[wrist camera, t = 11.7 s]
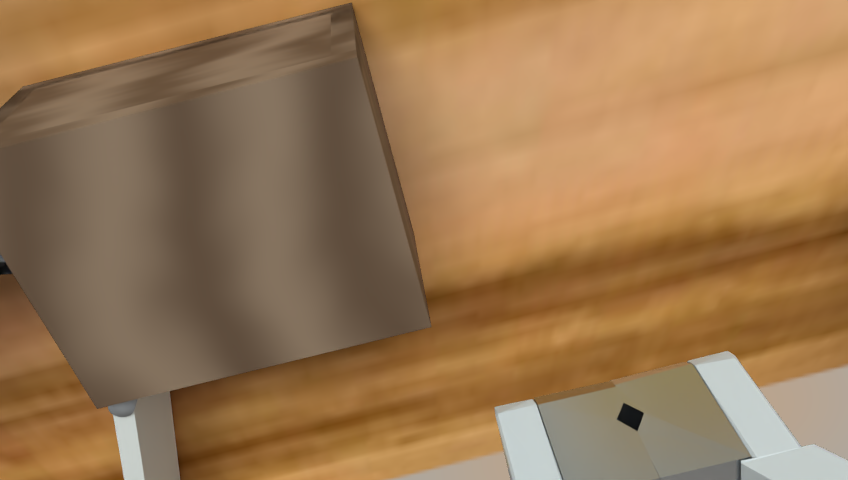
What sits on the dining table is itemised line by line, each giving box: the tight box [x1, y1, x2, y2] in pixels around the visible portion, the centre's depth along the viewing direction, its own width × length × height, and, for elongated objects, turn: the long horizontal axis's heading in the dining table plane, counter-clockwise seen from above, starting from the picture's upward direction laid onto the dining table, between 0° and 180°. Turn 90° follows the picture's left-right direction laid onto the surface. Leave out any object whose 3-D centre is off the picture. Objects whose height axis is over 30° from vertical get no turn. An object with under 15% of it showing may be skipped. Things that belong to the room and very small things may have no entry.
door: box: [108, 391, 180, 480], centre depth 43 cm, size 15×2×7 cm, turn 175°
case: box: [0, 3, 431, 409], centre depth 35 cm, size 16×13×8 cm
